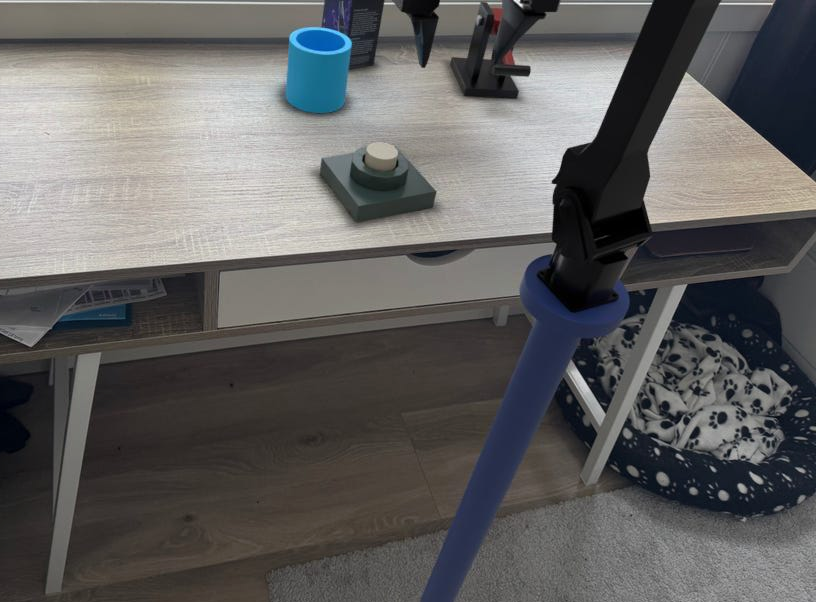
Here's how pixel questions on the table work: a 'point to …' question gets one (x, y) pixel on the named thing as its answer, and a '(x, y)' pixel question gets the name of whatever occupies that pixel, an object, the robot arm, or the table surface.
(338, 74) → the mug
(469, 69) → the bracket
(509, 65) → the lever
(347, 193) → the button block
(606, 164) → the robot arm
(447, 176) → the table surface
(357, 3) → the box
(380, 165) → the button
